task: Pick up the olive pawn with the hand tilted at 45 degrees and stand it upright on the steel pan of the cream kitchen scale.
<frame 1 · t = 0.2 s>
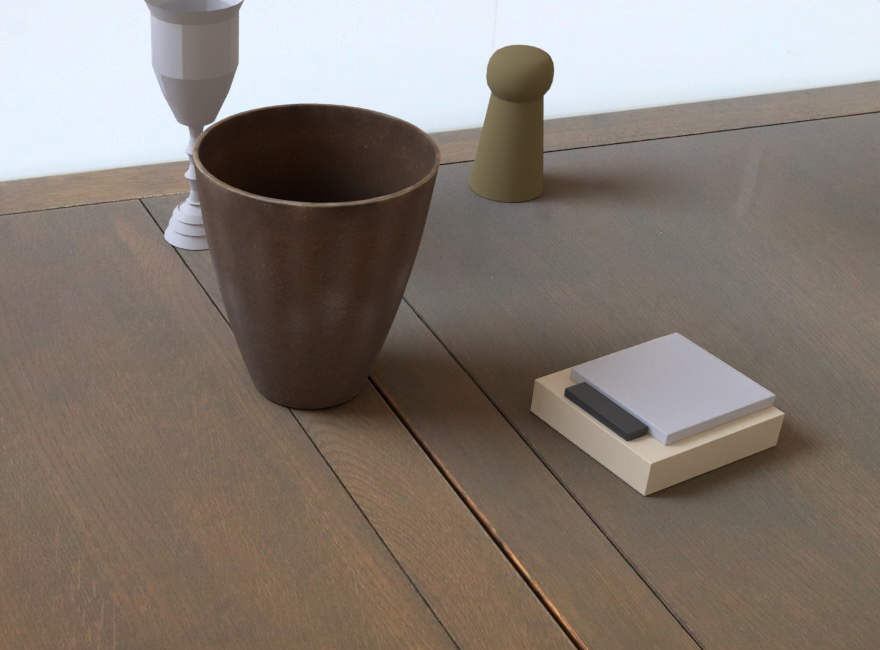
flower pot: (307, 382, 105), on the table
olive pawn: (505, 188, 128), on the table
scale: (651, 428, 101), on the table
chalice: (197, 237, 121), on the table
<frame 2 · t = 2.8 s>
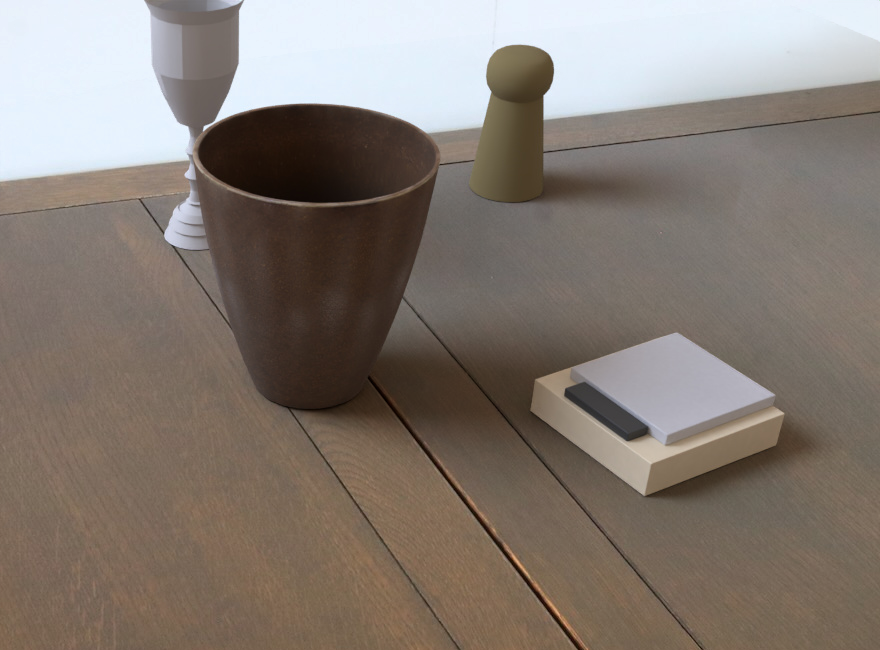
nothing on the table moved.
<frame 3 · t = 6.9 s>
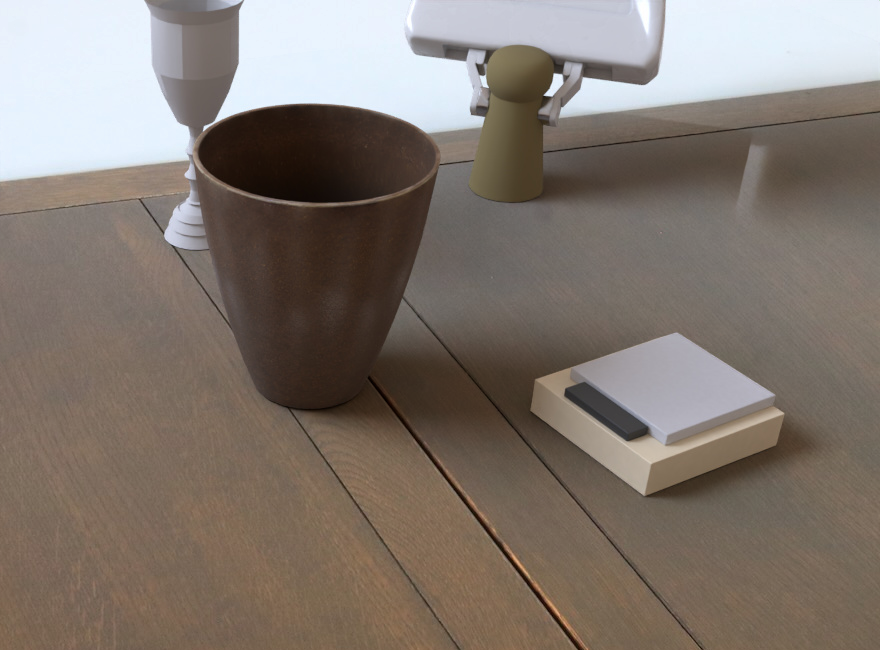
hand: (513, 118, 123), 6 cm above the table, tool tilted 45°, fingers closed on olive pawn, 4 cm apart
olive pawn: (505, 188, 128), on the table, touching gripper
everything else where it was.
when the fingers open (9 cm above the table, at t = 16.0 s): olive pawn stays where it is, resting on scale.
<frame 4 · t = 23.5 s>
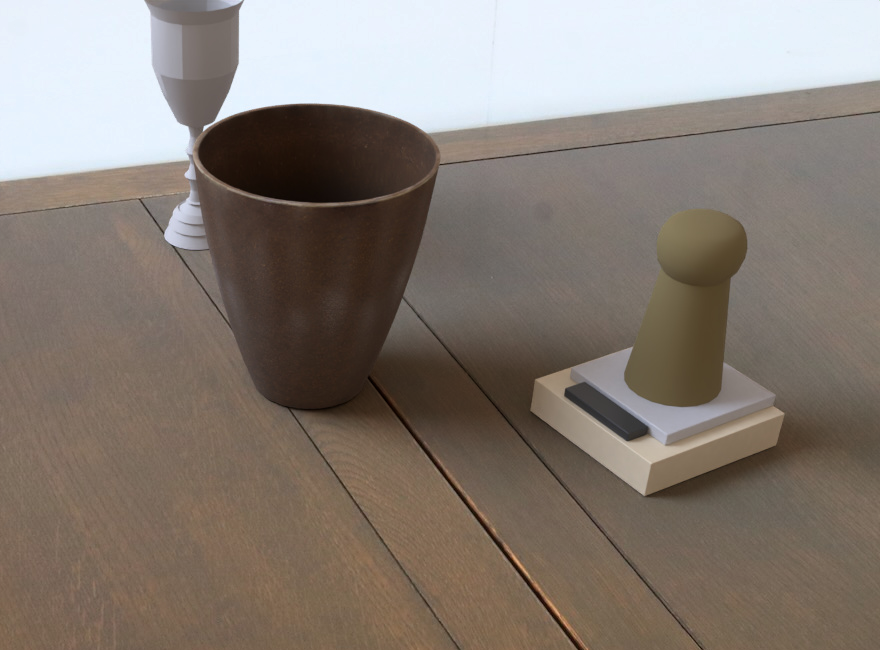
olive pawn: (671, 383, 99), point 3 cm above the table, touching scale
everything else where it was.
at the end: olive pawn inside the target area on the scale (0.0 cm from its centre), point 3.0 cm above the scale's base; olive pawn tilted 0°; the gripper is holding nothing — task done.
